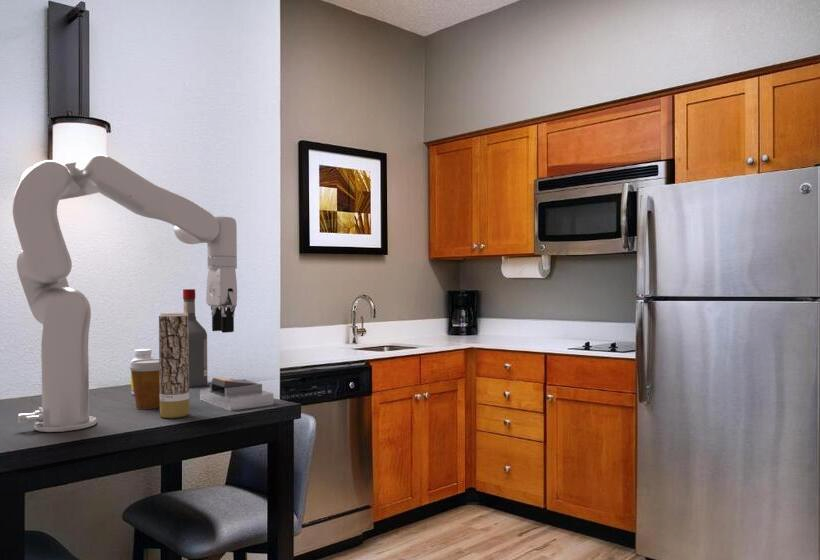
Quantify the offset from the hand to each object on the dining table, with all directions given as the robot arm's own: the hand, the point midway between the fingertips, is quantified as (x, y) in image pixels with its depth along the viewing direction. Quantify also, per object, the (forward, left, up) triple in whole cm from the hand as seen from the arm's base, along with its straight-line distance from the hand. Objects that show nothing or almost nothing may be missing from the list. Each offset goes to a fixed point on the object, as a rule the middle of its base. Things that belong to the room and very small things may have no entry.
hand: (222, 330), depth 178 cm
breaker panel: (+4, 0, -19) cm, 20 cm away
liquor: (+5, +36, -20) cm, 41 cm away
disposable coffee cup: (-16, +9, -20) cm, 27 cm away
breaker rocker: (+4, 0, -14) cm, 15 cm away
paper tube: (-15, -7, -20) cm, 26 cm away
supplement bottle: (-11, +30, -20) cm, 38 cm away
